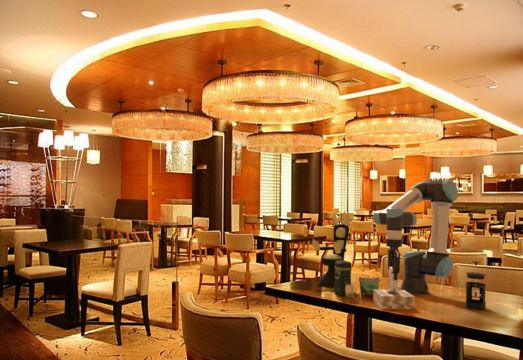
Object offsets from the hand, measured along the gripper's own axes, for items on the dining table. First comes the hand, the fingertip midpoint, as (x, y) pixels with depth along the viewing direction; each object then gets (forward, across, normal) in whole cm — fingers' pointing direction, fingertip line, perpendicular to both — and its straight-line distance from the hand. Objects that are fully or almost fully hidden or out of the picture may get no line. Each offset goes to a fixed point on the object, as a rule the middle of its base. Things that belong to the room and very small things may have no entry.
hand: (393, 285), depth 228 cm
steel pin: (+7, 0, 0) cm, 7 cm away
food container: (+10, -20, -6) cm, 23 cm away
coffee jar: (+10, -23, -21) cm, 33 cm away
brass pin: (+10, -14, -19) cm, 26 cm away
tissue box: (+10, 0, 0) cm, 10 cm away
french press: (+10, +2, +40) cm, 41 cm away
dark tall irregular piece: (+10, -51, -21) cm, 56 cm away
